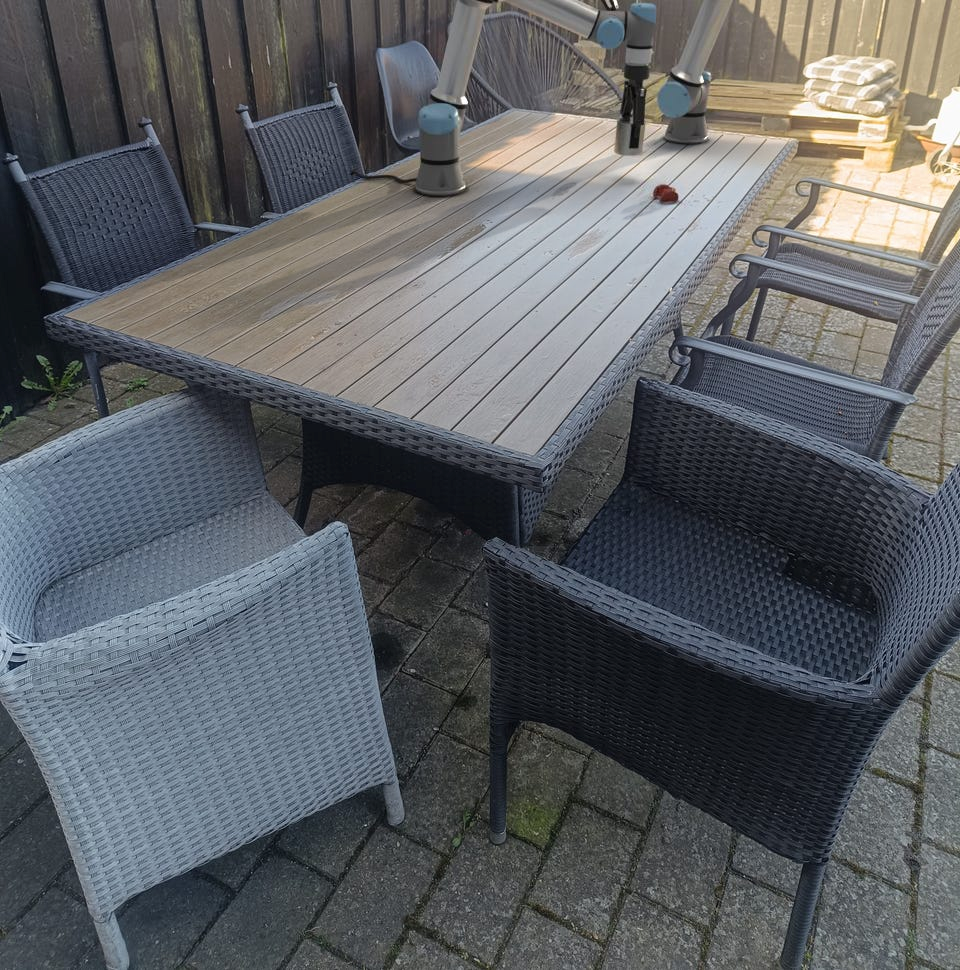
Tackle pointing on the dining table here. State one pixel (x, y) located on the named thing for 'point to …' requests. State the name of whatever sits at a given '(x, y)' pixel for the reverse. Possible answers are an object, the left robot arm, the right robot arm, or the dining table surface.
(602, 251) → the dining table surface
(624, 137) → the tin
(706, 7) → the right robot arm
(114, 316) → the dining table surface
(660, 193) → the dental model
